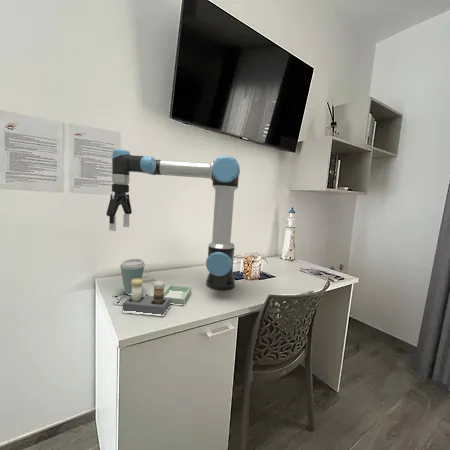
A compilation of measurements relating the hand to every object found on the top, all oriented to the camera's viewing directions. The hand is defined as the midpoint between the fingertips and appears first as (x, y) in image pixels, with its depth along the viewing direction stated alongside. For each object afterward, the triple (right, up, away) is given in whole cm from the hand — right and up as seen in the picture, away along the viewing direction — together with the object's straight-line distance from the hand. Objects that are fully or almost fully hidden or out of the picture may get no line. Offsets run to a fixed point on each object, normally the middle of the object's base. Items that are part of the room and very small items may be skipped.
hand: (119, 228), depth 125 cm
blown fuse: (+24, -33, -21) cm, 45 cm away
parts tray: (+28, -31, -7) cm, 43 cm away
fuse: (+15, -32, -20) cm, 41 cm away
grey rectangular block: (+19, -32, -21) cm, 43 cm away
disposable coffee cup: (+8, -30, -5) cm, 31 cm away
